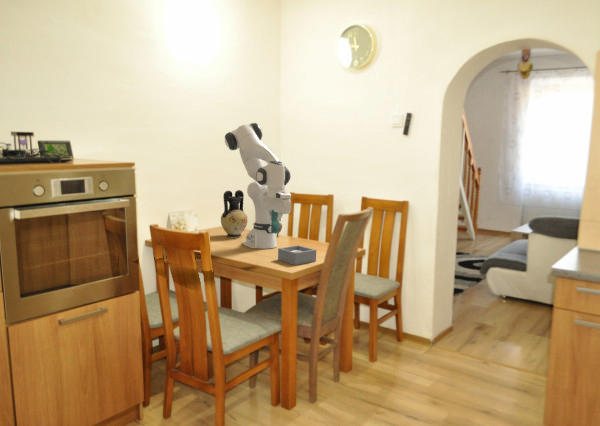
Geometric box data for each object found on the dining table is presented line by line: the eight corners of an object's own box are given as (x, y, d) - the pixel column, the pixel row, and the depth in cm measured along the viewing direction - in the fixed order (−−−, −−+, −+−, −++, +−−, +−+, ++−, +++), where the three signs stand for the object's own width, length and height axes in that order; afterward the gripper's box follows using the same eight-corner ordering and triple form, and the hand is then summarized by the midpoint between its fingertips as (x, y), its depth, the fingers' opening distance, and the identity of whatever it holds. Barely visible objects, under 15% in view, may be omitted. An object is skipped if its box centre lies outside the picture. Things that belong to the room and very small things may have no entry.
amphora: (233, 233, 313) (233, 188, 309) (252, 236, 304) (253, 190, 300) (214, 236, 299) (214, 190, 295) (234, 240, 289) (235, 192, 285)
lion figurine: (279, 235, 310) (279, 222, 309) (283, 236, 306) (284, 223, 304) (260, 237, 301) (260, 223, 300) (265, 238, 297) (265, 224, 296)
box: (277, 259, 243) (278, 248, 242) (298, 256, 252) (298, 245, 251) (295, 265, 232) (295, 253, 232) (315, 261, 242) (316, 249, 241)
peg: (269, 232, 237) (270, 209, 236) (275, 231, 240) (276, 208, 238) (274, 233, 234) (274, 210, 233) (280, 232, 237) (281, 209, 235)
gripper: (258, 191, 240) (258, 218, 242) (283, 195, 225) (283, 224, 227) (268, 191, 244) (267, 217, 246) (293, 195, 229) (292, 222, 231)
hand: (275, 220), depth 236 cm, fingers closed on peg, 4 cm apart
